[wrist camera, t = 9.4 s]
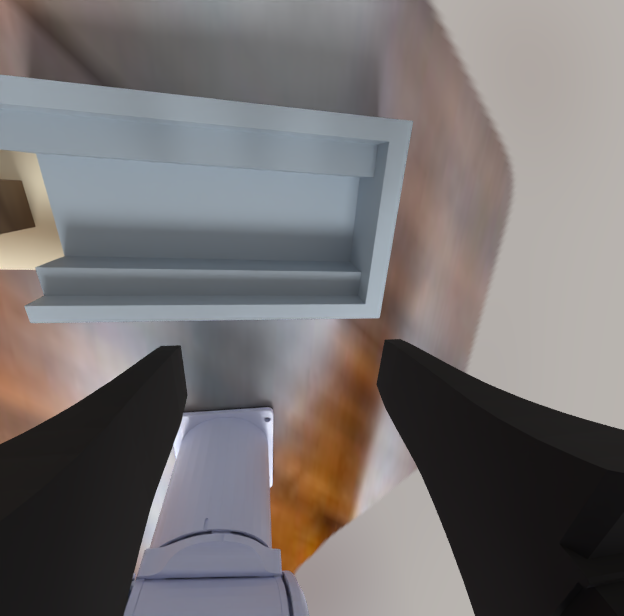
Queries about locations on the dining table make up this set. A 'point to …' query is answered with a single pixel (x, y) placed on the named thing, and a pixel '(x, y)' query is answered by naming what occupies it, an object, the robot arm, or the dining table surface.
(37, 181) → the cover plate
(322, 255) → the box
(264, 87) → the dining table surface
